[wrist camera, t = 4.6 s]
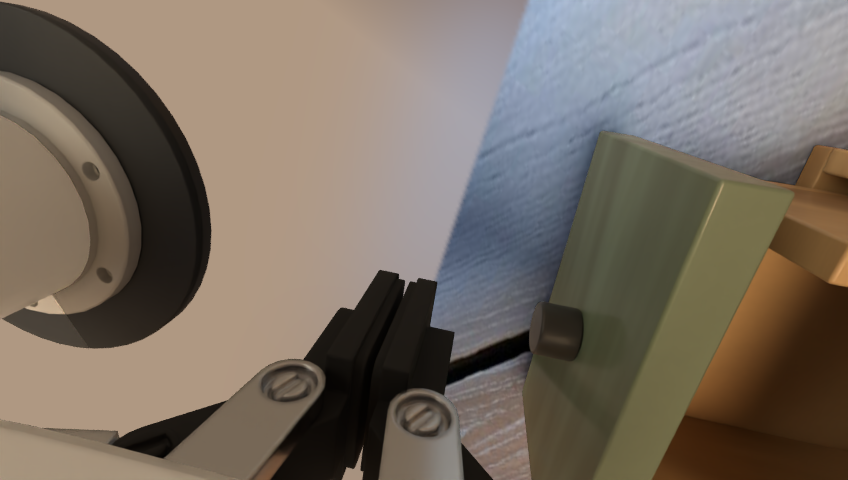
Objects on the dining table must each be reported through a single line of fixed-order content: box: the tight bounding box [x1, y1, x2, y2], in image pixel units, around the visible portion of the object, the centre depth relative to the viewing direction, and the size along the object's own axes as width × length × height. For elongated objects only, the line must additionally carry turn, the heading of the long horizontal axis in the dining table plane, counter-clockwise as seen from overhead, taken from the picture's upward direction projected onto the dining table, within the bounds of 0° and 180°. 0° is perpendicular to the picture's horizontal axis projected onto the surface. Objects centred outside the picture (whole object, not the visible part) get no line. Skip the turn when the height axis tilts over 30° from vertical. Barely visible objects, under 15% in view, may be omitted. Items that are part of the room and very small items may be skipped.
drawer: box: [522, 131, 848, 480], centre depth 12 cm, size 15×11×8 cm
